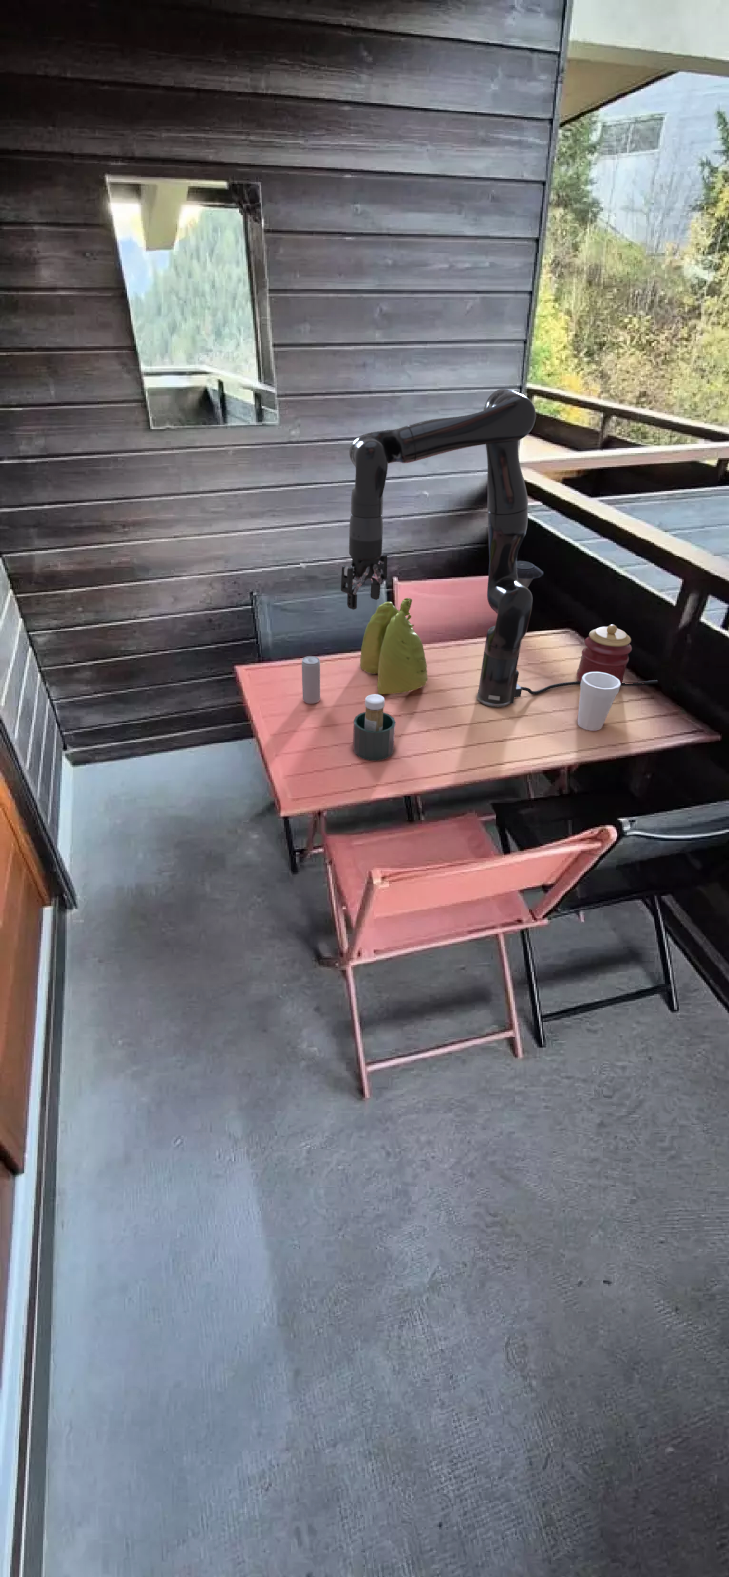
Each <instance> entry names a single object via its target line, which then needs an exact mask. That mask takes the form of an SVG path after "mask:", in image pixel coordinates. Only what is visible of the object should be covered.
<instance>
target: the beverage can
mask: <svg viewBox="0 0 729 1577" xmlns="http://www.w3.org/2000/svg"><path fill="white" fill-rule="evenodd" d="M301 684H302V685H301V688H302V692H301V693H302V701H303V702H304V703H305V704H309V705H314V704H317V703H318V702H320V701H321V661H320V658H319V657H317V656H314V655H308V656H304V657H302V658H301Z"/></svg>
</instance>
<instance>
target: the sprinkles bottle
mask: <svg viewBox="0 0 729 1577" xmlns="http://www.w3.org/2000/svg"><path fill="white" fill-rule="evenodd" d="M385 703H386V702H385V697H384V696H382V694H378V693H372V694H368V695H367V696H365V699H364V706H365V711H364V712H365V730H369V731H383V712H384V708H385Z"/></svg>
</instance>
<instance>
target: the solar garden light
mask: <svg viewBox="0 0 729 1577" xmlns="http://www.w3.org/2000/svg"><path fill="white" fill-rule="evenodd" d="M517 575H518V581H519V582H520V583H521V584H522V585H524V586H525V587H526V588H528V589H529V586H530V584H531V583H532V581H533V580H534V579H538V578H542V577H543V576H544V571H543V570H542V569H540V568H539V567H538V566H536V565H535V564H533V563H532V562H529V561H525V560H517Z"/></svg>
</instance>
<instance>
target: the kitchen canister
mask: <svg viewBox="0 0 729 1577" xmlns="http://www.w3.org/2000/svg"><path fill="white" fill-rule="evenodd" d="M631 642H632V638H631V636H630V635H628V634H627V633H626V632H625V631H624V630H622V629H620V628H618V627H617V625H615V624H609V625H608V626H600V627H597V628H595V629H592V630H591V631H589V634H588V636H587V637H585V639H584V641H583V643H584V648H583V649H582V650H581V656H580V660H579V665H578V668H577V670H576V681H580V682H581V680H582V677H583V675H584V674H586V673H589V672H603V673H607V674H610V675H613V676H615V677H616V678H617V679H619V681H620V683H621V684H622V682H624V675H625V672H626V669H627V665H628V663H629V661H630V657H629V654H630V653H631V652H632V650H633V647H632V645H631V644H630V643H631Z"/></svg>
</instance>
